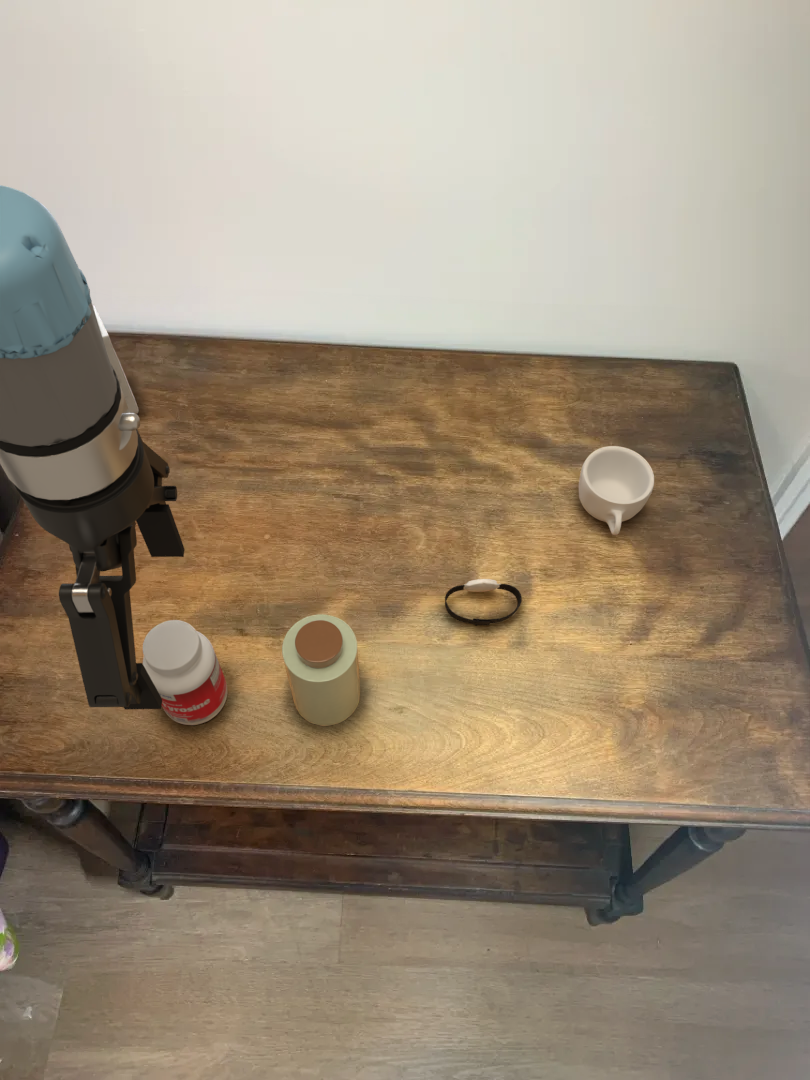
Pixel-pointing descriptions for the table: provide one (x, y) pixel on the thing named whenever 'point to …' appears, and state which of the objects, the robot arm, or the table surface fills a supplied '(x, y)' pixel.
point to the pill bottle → (184, 672)
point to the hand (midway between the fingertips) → (156, 624)
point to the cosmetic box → (117, 367)
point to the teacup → (615, 485)
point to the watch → (483, 586)
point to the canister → (322, 669)
